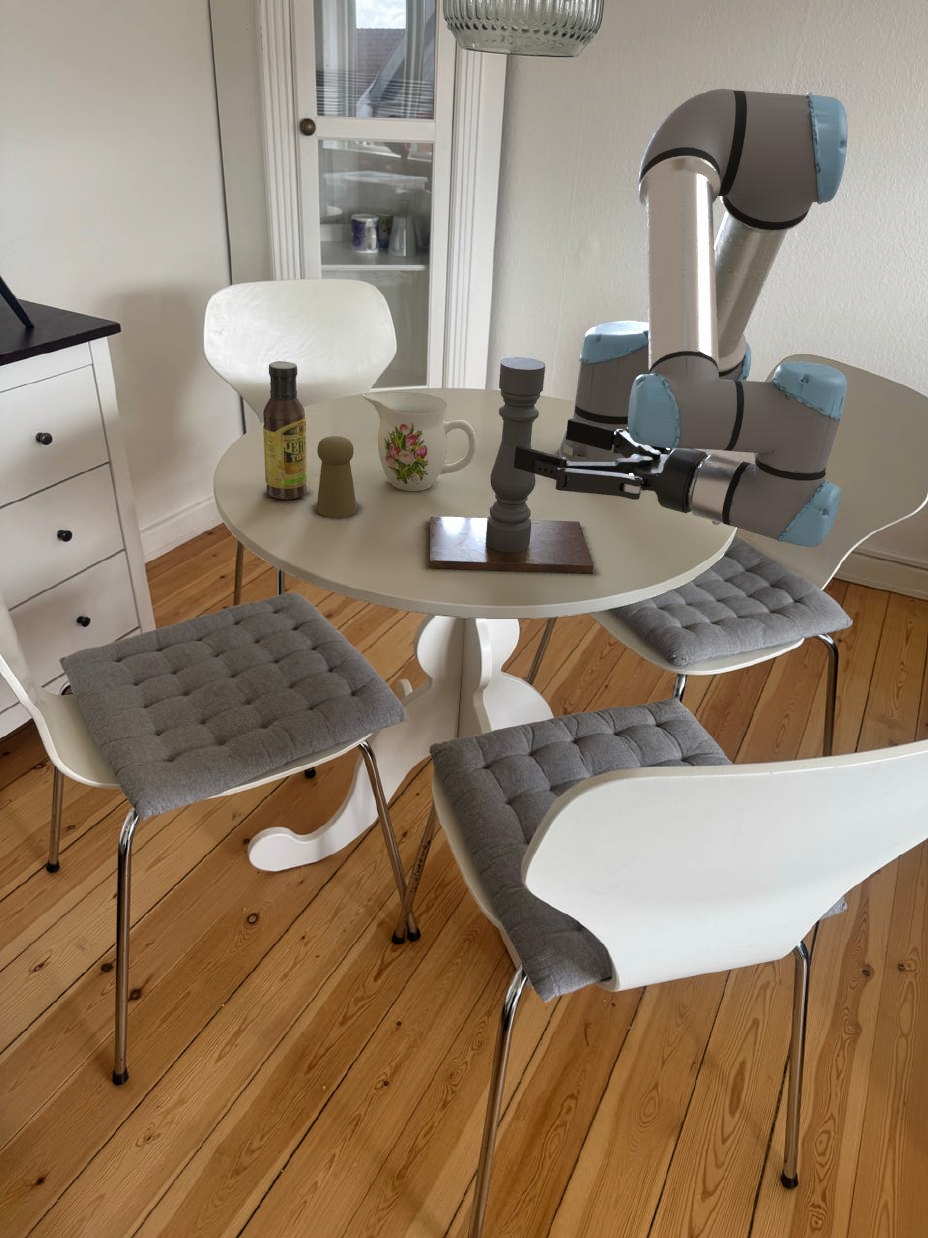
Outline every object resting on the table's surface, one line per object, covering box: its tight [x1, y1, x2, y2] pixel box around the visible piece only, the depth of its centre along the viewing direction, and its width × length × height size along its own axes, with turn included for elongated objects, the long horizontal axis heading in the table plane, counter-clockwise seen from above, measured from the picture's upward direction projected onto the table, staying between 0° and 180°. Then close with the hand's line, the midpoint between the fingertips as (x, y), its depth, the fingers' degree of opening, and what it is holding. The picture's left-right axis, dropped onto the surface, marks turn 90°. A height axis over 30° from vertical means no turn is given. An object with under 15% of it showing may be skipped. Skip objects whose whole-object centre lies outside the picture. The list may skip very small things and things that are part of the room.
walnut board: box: [429, 515, 594, 574], centre depth 128 cm, size 22×14×1 cm, turn 92°
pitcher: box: [362, 391, 477, 492], centre depth 143 cm, size 11×18×14 cm, turn 83°
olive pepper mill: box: [316, 435, 358, 518], centre depth 134 cm, size 6×6×11 cm
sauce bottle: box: [262, 360, 308, 500], centre depth 136 cm, size 6×6×20 cm
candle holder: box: [486, 356, 546, 553], centre depth 121 cm, size 6×6×25 cm
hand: (542, 441), depth 118 cm, fingers open, 13 cm apart
